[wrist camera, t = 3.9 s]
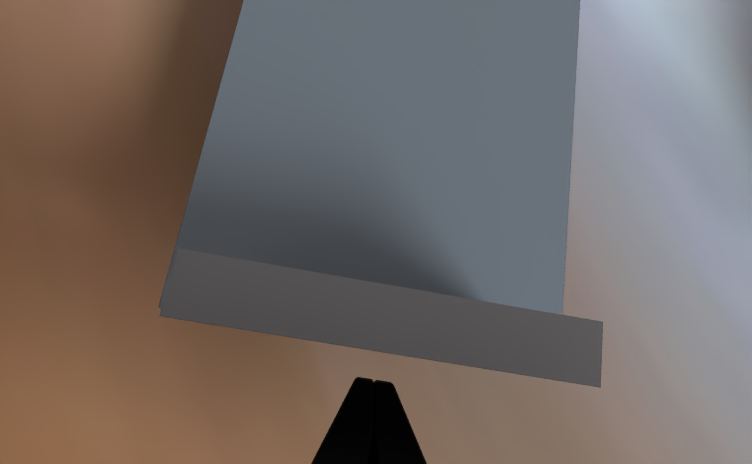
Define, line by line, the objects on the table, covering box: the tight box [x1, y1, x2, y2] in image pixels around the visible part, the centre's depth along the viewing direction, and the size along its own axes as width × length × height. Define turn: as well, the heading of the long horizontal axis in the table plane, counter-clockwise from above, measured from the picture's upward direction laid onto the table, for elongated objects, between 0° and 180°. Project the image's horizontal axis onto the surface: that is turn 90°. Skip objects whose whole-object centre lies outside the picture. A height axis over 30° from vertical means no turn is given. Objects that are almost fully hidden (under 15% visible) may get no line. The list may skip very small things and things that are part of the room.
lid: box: [159, 0, 603, 388], centre depth 12 cm, size 14×12×6 cm
